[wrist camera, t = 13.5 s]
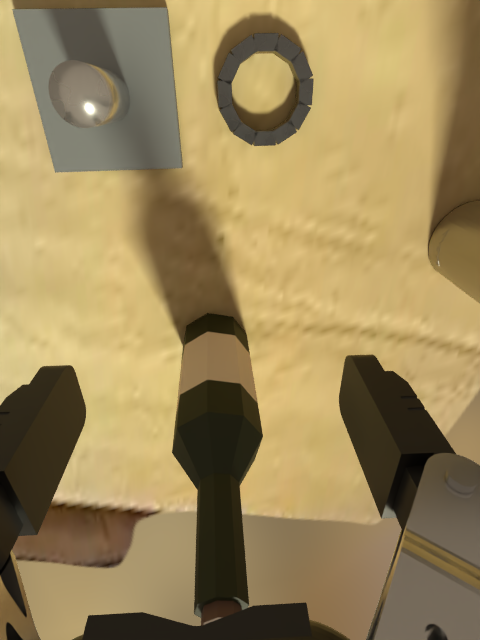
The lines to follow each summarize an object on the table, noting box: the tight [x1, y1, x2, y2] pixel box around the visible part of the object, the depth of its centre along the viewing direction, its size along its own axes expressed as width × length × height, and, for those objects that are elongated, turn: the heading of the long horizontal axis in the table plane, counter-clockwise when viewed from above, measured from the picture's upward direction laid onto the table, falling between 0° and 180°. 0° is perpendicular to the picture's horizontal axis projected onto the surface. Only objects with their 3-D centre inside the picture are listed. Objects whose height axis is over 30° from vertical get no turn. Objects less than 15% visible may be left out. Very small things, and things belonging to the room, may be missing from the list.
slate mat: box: [12, 7, 183, 172], centre depth 33 cm, size 12×12×1 cm
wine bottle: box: [172, 313, 263, 626], centre depth 34 cm, size 8×8×30 cm
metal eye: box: [217, 33, 313, 146], centre depth 33 cm, size 8×8×2 cm
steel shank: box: [48, 60, 130, 128], centre depth 29 cm, size 4×4×8 cm
